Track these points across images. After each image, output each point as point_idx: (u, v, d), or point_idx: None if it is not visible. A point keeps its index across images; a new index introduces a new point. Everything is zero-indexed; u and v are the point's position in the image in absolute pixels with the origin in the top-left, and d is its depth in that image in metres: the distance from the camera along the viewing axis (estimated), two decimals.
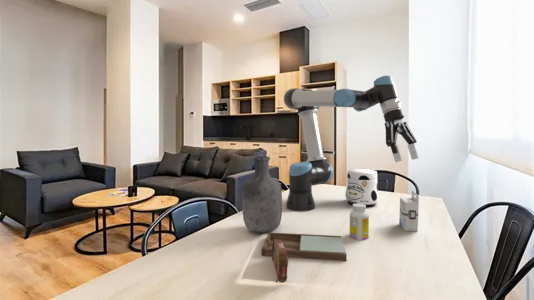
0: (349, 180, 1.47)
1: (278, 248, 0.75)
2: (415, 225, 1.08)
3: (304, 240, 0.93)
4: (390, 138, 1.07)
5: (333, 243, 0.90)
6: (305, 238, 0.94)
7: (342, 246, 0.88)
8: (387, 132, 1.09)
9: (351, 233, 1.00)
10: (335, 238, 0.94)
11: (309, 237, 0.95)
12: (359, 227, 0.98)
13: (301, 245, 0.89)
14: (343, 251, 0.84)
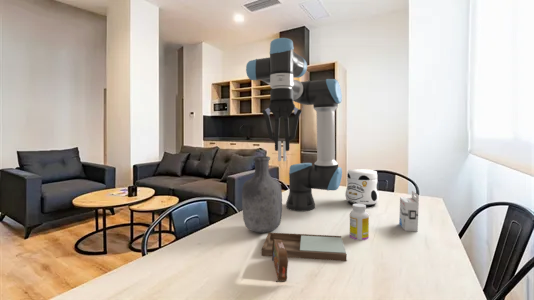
0: (349, 180, 1.47)
1: (278, 248, 0.75)
2: (415, 225, 1.08)
3: (304, 240, 0.93)
4: None
5: (333, 243, 0.90)
6: (305, 238, 0.94)
7: (342, 246, 0.88)
8: None
9: (351, 233, 1.00)
10: (335, 238, 0.94)
11: (309, 237, 0.95)
12: (359, 227, 0.98)
13: (301, 245, 0.89)
14: (343, 251, 0.84)
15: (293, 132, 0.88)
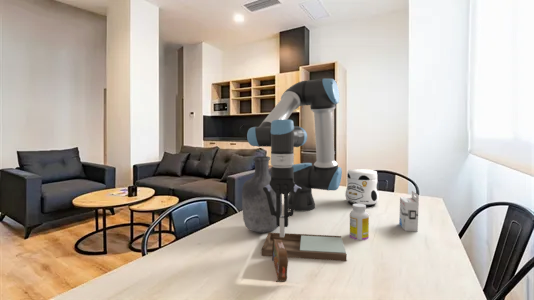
0: (349, 180, 1.47)
1: (278, 248, 0.75)
2: (415, 225, 1.08)
3: (304, 240, 0.93)
4: (270, 209, 0.91)
5: (333, 243, 0.90)
6: (305, 238, 0.94)
7: (342, 246, 0.88)
8: None
9: (351, 233, 1.00)
10: (335, 238, 0.94)
11: (309, 237, 0.95)
12: (359, 227, 0.98)
13: (301, 245, 0.89)
14: (343, 251, 0.84)
15: (292, 209, 0.90)
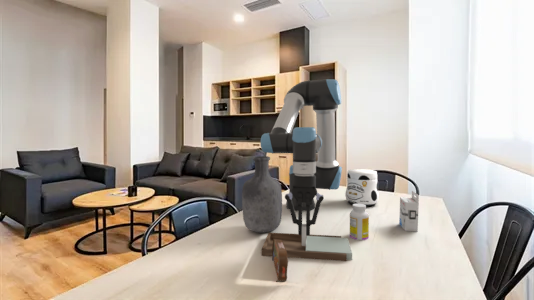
0: (349, 180, 1.47)
1: (278, 248, 0.75)
2: (415, 225, 1.08)
3: (309, 240, 0.93)
4: (292, 218, 0.90)
5: (339, 243, 0.90)
6: (311, 239, 0.94)
7: (348, 247, 0.87)
8: None
9: (351, 233, 1.00)
10: (341, 238, 0.94)
11: (315, 237, 0.95)
12: (359, 227, 0.98)
13: (307, 245, 0.89)
14: (349, 252, 0.84)
15: (314, 218, 0.89)
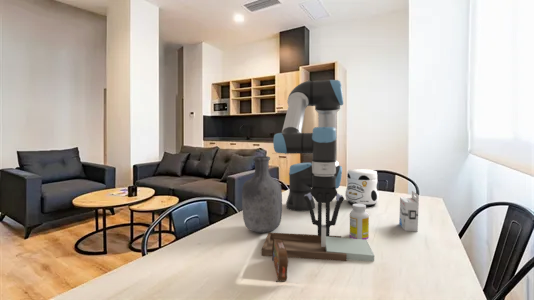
0: (349, 180, 1.47)
1: (278, 248, 0.75)
2: (415, 225, 1.08)
3: (329, 241, 0.91)
4: None
5: (359, 245, 0.89)
6: (330, 239, 0.93)
7: (369, 249, 0.86)
8: None
9: (351, 233, 1.00)
10: (360, 240, 0.93)
11: (333, 238, 0.94)
12: (359, 227, 0.98)
13: (327, 246, 0.88)
14: (371, 254, 0.83)
15: (334, 219, 0.88)
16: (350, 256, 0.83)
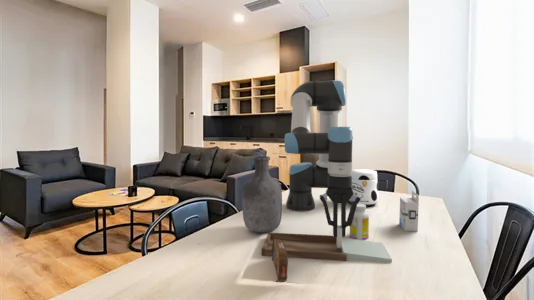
0: None
1: (278, 248, 0.75)
2: (415, 225, 1.08)
3: (344, 242, 0.91)
4: (327, 219, 0.89)
5: (375, 248, 0.88)
6: (345, 241, 0.92)
7: (386, 252, 0.85)
8: None
9: (351, 233, 1.00)
10: (376, 243, 0.92)
11: (349, 240, 0.93)
12: (359, 227, 0.98)
13: (344, 247, 0.87)
14: (389, 257, 0.82)
15: (350, 219, 0.87)
16: (367, 258, 0.82)
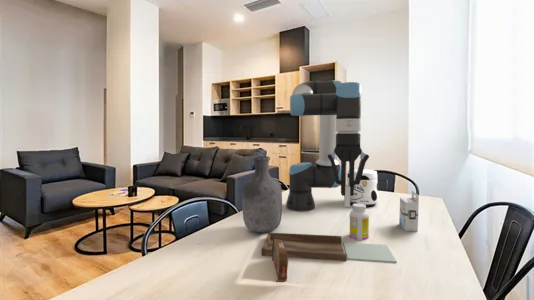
0: None
1: (278, 248, 0.75)
2: (415, 225, 1.08)
3: (348, 247, 0.90)
4: (335, 178, 0.88)
5: (380, 250, 0.88)
6: (349, 246, 0.92)
7: (390, 254, 0.85)
8: (332, 168, 0.89)
9: (351, 233, 1.00)
10: (380, 245, 0.92)
11: (352, 244, 0.93)
12: (359, 227, 0.98)
13: (348, 252, 0.87)
14: (393, 260, 0.82)
15: (359, 177, 0.86)
16: None
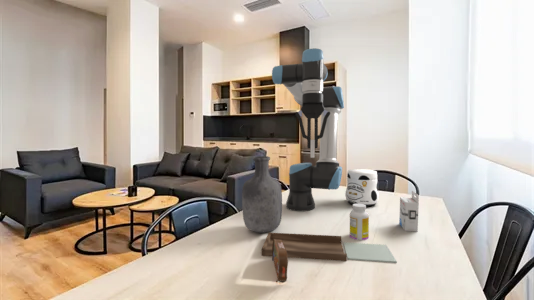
0: (349, 180, 1.47)
1: (278, 248, 0.75)
2: (415, 225, 1.08)
3: (348, 247, 0.90)
4: None
5: (380, 250, 0.88)
6: (349, 246, 0.92)
7: (390, 254, 0.85)
8: None
9: (351, 233, 1.00)
10: (380, 245, 0.92)
11: (353, 244, 0.93)
12: (359, 227, 0.98)
13: (348, 252, 0.87)
14: (393, 260, 0.82)
15: (322, 132, 0.99)
16: None
